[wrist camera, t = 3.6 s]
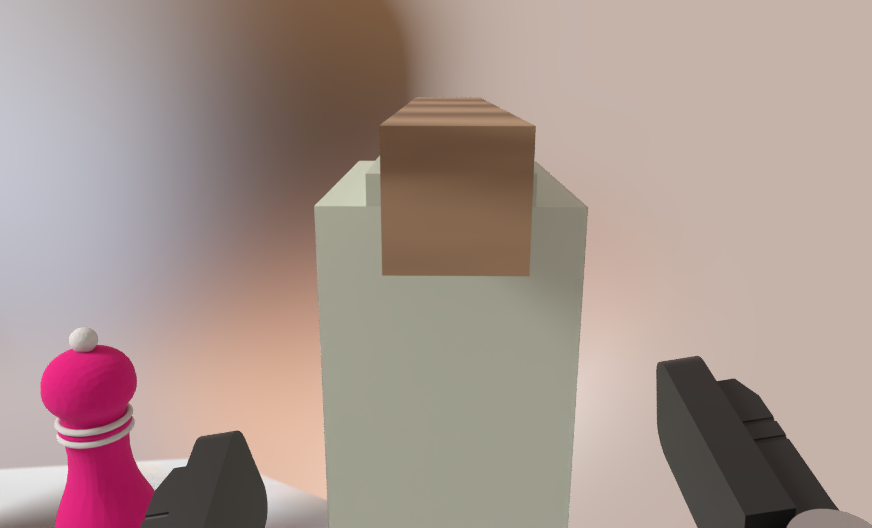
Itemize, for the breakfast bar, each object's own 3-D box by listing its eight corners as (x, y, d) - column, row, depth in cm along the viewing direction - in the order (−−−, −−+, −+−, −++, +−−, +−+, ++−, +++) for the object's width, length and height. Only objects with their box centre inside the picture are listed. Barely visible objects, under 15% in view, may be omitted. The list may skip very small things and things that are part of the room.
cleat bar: (529, 276, 16) (535, 126, 15) (382, 275, 16) (379, 125, 15) (478, 161, 38) (480, 97, 37) (416, 161, 38) (416, 97, 37)
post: (547, 852, 33) (590, 174, 24) (343, 850, 33) (312, 173, 25) (516, 628, 47) (537, 140, 38) (371, 627, 47) (358, 139, 38)
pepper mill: (128, 533, 56) (97, 304, 51) (188, 563, 53) (161, 321, 48) (42, 587, 50) (-3, 334, 45) (103, 625, 47) (62, 356, 42)
